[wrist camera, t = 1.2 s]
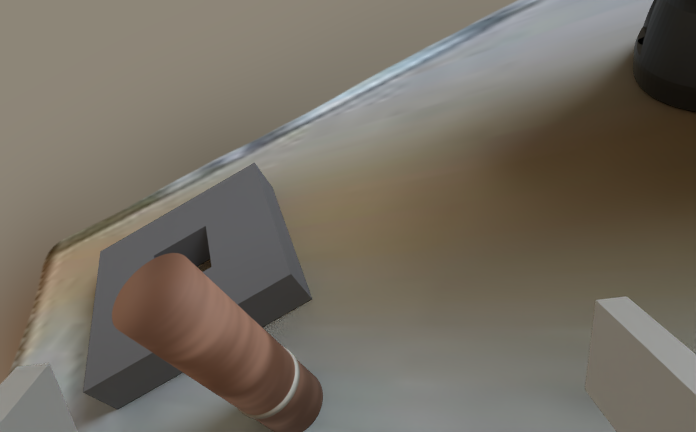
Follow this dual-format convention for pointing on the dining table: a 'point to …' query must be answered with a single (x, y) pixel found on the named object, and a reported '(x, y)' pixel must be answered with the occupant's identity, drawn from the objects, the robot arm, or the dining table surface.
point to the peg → (216, 343)
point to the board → (226, 272)
